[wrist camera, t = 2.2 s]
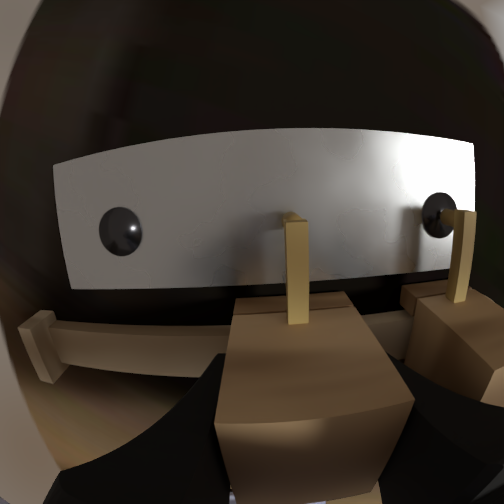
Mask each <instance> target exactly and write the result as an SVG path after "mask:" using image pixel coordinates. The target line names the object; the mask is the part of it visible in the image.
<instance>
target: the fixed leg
mask: <svg viewBox="0 0 504 504" xmlns="http://www.w3.org/2000/svg"><path fill="white" fill-rule="evenodd" d="M440 219H441V222H442V223H443V224H444V225H447V226H450V227H453V228H454V230H453V243H452V253H451V262H450V269H449V276H448V279H447V280H440V281H433V282H425V283H417V284H409V285H402V288H401V296H400V303H399V304H400V305H401V306H402V307H403V308H404V309H405V310H406V311H407V312H408V313H409V314H410V315H411V316H412V317H413V316H415V317H414V322H413V327H412V332H411V337H410V341H409V346H408V350H407V354H406V358H405V359H400V360H399V361H400V362H402V363H403V364H405V365H406V366H408V367H409V368H411V369H412V370H414V371H415V372H417V373H419V374H420V375H422V376H424V377H425V378H427V379H429V380H431V381H433V382H434V383H436V384H438V385H440V386H442V387H444V388H446V389H449V390H451V391H453V392H455V393H458V394H460V395H463V396H465V397H468V398H471V399H474V400H477V401H480V402H483V403H487V404H491V405H495V406H500V407H504V309H503V308H502V307H500V306H499V305H497V304H496V303H494V302H493V301H491V300H490V299H488V298H487V297H485V296H484V295H482V294H481V293H479V292H477V291H476V290H474V289H472V288H471V287H470V286H468V283H469V277H470V271H471V264H472V257H473V248H474V238H475V226H476V212H475V211H470V210H466V209H455V211H454V210H450V209H444V210H443V211H442V212H441V215H440ZM471 289H472V290H471Z"/></svg>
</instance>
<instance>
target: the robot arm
mask: <svg viewBox="0 0 504 504" xmlns="http://www.w3.org/2000/svg"><path fill="white" fill-rule="evenodd" d="M385 352H386V351H385ZM386 354H387V355H388V357H389V359H390V360H391V362H392V363H393V365H394V366H395V368H396V369H397V371H398V373H399V374H400V376H401V377H402V379H403V381H404V382H405V384H406V385H407V387H408V389H409V390H410V392H411V393H412V395H413V397H414V398H415V401H414V404H413V406H412V409H411V411H410V414H409V416H408V419H407V421H406V424H405V426H404V428H403V431H402V433H401V435H400V437H399V439H398V442H397V444H396V446H395V448H394V450H393V452H392V454H391V456H390V458H389V460H388V462H387V464H386V466H385V468H384V469H383V471H382V473H381V475H380V477H379V478H378V482H379V487H380V493H381V498H382V504H504V407H500V406H495V405H491V404H487V403H483V402H480V401H477V400H474V399H471V398H468V397H465V396H463V395H460V394H458V393H455V392H453V391H451V390H449V389H446V388H444V387H442V386H440V385H438V384H436V383H434V382H433V381H431V380H429V379H427V378H425V377H424V376H422V375H420V374H419V373H417V372H415V371H414V370H412V369H411V368H409V367H408V366H406V365H405V364H403V363H402V362H400V361H399V360H397V359H396V358H394V357H393V356H391V355H390V354H389V353H387V352H386ZM225 357H226V353H218V354H217V355H216V356H215V357H214V358H213V360H212V361H211V363H210V364H209V365H208V367H207V368H206V370H205V371H204V372H203V374H202V375H201V376H200V378H199V379H198V380H197V381H196V382H195V384H194V385H193V386H192V387H191V388H190V390H189V391H188V392H187V393H186V394H185V395H184V396H183V397H182V398H181V399H180V400H179V402H178V403H177V404H176V405H175V406H174V407H173V408H172V409H171V410H170V411H169V412H167V413H166V414H165V415H164V416H163V417H162V418H161V419H160V420H158V421H157V422H156V423H155V424H154V425H152V426H151V427H150V428H148V429H147V430H146V431H144V432H143V433H141V434H140V435H138V436H137V437H135V438H134V439H132V440H131V441H129V442H128V443H126V444H125V445H123V446H121V447H119V448H117V449H116V450H114V451H112V452H110V453H108V454H106V455H103V456H101V457H99V458H97V459H95V460H92V461H90V462H87V463H84V464H81V465H79V466H76V467H73V468H70V469H67V470H63V471H60V473H59V474H58V476H57V478H56V479H55V481H54V483H53V485H52V487H51V489H50V490H49V492H48V494H47V496H46V498H45V500H44V502H43V504H236V501H235V497H234V494H233V492H230V481H229V477H228V474H227V471H226V467H225V463H224V460H223V456H222V452H221V449H220V445H219V441H218V437H217V433H216V429H215V425H214V421H215V415H216V409H217V404H218V398H219V392H220V386H221V380H222V375H223V369H224V363H225ZM325 503H326V501H323V502H316V503H308V504H325ZM0 504H9V503H8V502H7V501H5V500H4V499H3V498H1V497H0Z"/></svg>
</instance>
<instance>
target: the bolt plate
mask: <svg viewBox="0 0 504 504" xmlns="http://www.w3.org/2000/svg"><path fill="white" fill-rule="evenodd" d="M53 173H54V187H55V198H56V207H57V215H58V222H59V229H60V236H61V241H62V247H63V252H64V258H65V262H66V267H67V272H68V276H69V280H70V284H71V288H72V289H144V288H184V287H211V286H234V285H254V284H272V283H286V269H285V240H284V228H283V226H282V222H281V220H282V217H283V215H284V214H285V213H287V212H295V213H297V214H298V215H299V216H300V217H301V218H305V219H306V220H307V221H308V234H309V281H319V280H332V279H345V278H357V277H369V276H380V275H391V274H401V273H411V272H420V271H430V270H439V269H448V268H450V262H451V253H452V243H453V230H454V228H453V227H450V226H447V225H444V224H443V223H442V222H441V219H440V215H441V212H442V211H443V210H444V209H450V210H454V211H455V209H466V210H470V211H474V194H475V182H474V154H473V144H471V143H466V142H461V141H456V140H450V139H444V138H437V137H431V136H424V135H416V134H407V133H398V132H387V131H375V130H359V129H335V128H287V129H262V130H246V131H233V132H222V133H212V134H203V135H195V136H187V137H180V138H173V139H166V140H160V141H154V142H149V143H143V144H138V145H133V146H128V147H123V148H118V149H114V150H109V151H105V152H101V153H96V154H92V155H88V156H84V157H81V158H77V159H73V160H70V161H66V162H63V163H59V164H56V165H53Z"/></svg>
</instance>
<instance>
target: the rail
mask: <svg viewBox="0 0 504 504" xmlns="http://www.w3.org/2000/svg"><path fill="white" fill-rule="evenodd" d="M484 296H485V295H484ZM485 297H487V296H485ZM487 298H488V297H487ZM488 299H490V298H488ZM490 300H491V299H490ZM491 301H493V300H491ZM361 317H362V318H363V319H364V321H365V322H366V324H367V325H368V327H369V328H370V330H371V331H372V333H373V334H374V336H375V337H376V339H377V340H378V342H379V343H380V345H381V346H382V348H383V349H384V351H386V352H387V353H389V354H390V355H391V356H393V357H394V358H396V359H397V360H400V359H405V358H406V354H407V350H408V346H409V341H410V337H411V332H412V327H413V322H414V317H415V316H413V317H412V316H411V315H410V314H409V313H408V312H407V311H406V310H399V311H392V312H385V313H377V314H369V315H361ZM230 329H231V325H219V326H147V325H119V324H100V323H84V322H71V321H60V320H56V316H55V313H54V311H48V310H40V311H39V312H37V313H36V314H35V315H33V316H32V317H31V318H29V319H28V320H27V321H25V322H24V323H23V324H21V325H20V326H19V327H18V330H19V333H20V335H21V338H22V341H23V343H24V345H25V348H26V350H27V353H28V355H29V357H30V359H31V362H32V364H33V366H34V368H35V370H36V372H37V375H38V377H39V379H40V380H41V381H44V382H48V383H51V384H54V383H55V382H56V381H57V379H58V378H59V377H60V376H61V375H62V374H63V372H64V371H65V370H66V369H67V368H68V367H69V366H70V364H71V365H77V366H83V367H89V368H95V369H102V370H110V371H118V372H127V373H136V374H148V375H161V376H178V377H200V376H201V375H202V374H203V372H204V371H205V370H206V368H207V367H208V365H209V364H210V363H211V361H212V360H213V358H214V357H215V356H216V355H217V354H218V353H226V352H227V346H228V340H229V335H230Z"/></svg>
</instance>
